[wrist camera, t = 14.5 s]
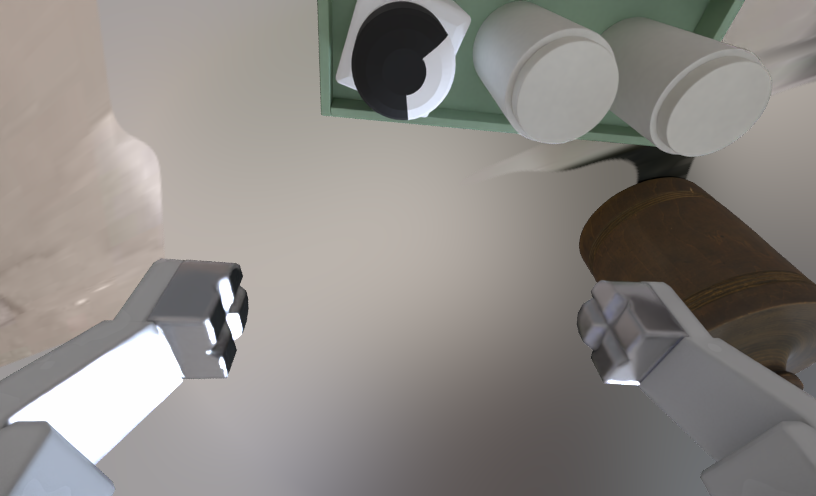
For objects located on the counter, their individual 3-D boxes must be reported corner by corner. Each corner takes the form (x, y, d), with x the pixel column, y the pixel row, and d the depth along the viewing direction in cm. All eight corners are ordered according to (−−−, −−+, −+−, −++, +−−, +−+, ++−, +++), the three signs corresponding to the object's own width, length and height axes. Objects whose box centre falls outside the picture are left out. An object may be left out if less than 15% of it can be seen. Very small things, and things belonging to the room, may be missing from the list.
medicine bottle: (342, 56, 31) (325, 107, 22) (370, -44, 27) (364, -31, 18) (419, 89, 33) (433, 149, 24) (457, 2, 29) (491, 33, 20)
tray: (723, -18, 30) (753, -14, 27) (642, 133, 38) (659, 147, 35) (320, -79, 26) (314, -80, 24) (325, 103, 34) (321, 115, 32)
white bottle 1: (565, 6, 30) (649, 39, 20) (537, 93, 34) (595, 154, 25) (483, -5, 29) (531, 24, 20) (464, 86, 33) (496, 145, 24)
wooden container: (596, 287, 52) (697, 454, 36) (562, 218, 44) (672, 393, 27) (711, 239, 48) (891, 405, 31) (697, 151, 39) (932, 312, 23)
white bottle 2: (679, 22, 31) (808, 60, 22) (638, 104, 35) (730, 166, 26) (603, 11, 30) (702, 46, 21) (570, 97, 34) (639, 158, 25)
